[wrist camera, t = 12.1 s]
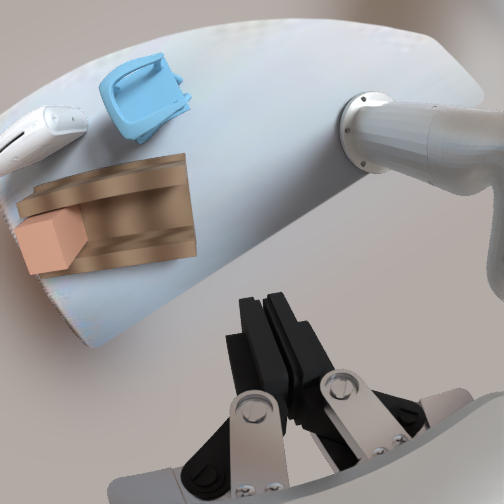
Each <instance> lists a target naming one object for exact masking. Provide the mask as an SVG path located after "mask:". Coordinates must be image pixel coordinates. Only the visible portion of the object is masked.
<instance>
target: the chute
mask: <svg viewBox="0 0 504 504" xmlns="http://www.w3.org/2000/svg"><path fill="white" fill-rule="evenodd" d="M33 189H34V193H33V194H31V195H29V196H28V197H26V198H24V199H23V200H21V201H20V202H18V203H16V204H17V208H18V212H19V216H20V219H21V218H24V217H28V216H31V215H35V214H39V213H42V212H46V211H50V210H54V209H58V208H62V207H66V206H70V205H75V204H79V207H80V211H81V215H82V219H83V223H84V227H85V231H86V234H87V238H88V241H87V242H86V244H85V245H84V246H83V248H82V249H81V250H80V252H79V253H78V255H77V256H76V257H75V259H74V260H73V262H72V263H71V265H70V266H69V268H68V269H64V270H58V271H51V272H45V273H39V275H40V278H41V279H43V278H50V277H56V276H63V275H70V274H77V273H84V272H90V271H97V270H104V269H111V268H118V267H125V266H132V265H139V264H146V263H153V262H160V261H167V260H174V259H181V258H188V257H195V256H197V254H196V236H195V229H194V222H193V215H192V207H191V199H190V192H189V183H188V175H187V166H186V157H185V153H182V154H175V155H168V156H162V157H156V158H150V159H145V160H139V161H134V162H129V163H124V164H119V165H114V166H110V167H105V168H101V169H96V170H92V171H88V172H84V173H80V174H76V175H72V176H69V177H65V178H62V179H58V180H55V181H51V182H48V183H45V184H41V185H38V186H36V187H34V188H33Z"/></svg>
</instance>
